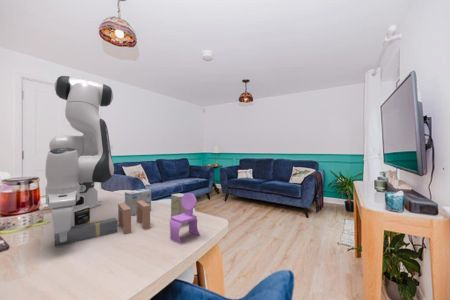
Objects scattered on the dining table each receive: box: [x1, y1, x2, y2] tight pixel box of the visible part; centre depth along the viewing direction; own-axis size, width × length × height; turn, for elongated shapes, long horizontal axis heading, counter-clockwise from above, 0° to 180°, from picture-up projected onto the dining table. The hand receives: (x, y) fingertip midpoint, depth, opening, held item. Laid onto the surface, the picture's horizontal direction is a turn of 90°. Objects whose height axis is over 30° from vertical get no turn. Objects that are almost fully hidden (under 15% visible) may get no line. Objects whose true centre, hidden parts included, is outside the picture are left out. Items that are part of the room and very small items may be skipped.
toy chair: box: [169, 192, 201, 245], centre depth 70 cm, size 8×9×15 cm
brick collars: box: [117, 200, 151, 235], centre depth 80 cm, size 11×9×9 cm
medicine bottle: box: [71, 195, 91, 226], centre depth 82 cm, size 7×7×12 cm
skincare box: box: [170, 192, 188, 227], centre depth 82 cm, size 6×4×12 cm
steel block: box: [54, 217, 119, 248], centre depth 71 cm, size 4×18×5 cm, turn 128°
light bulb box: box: [124, 188, 152, 217], centre depth 99 cm, size 11×7×11 cm, turn 144°
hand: (63, 237), depth 66 cm, fingers open, 5 cm apart
